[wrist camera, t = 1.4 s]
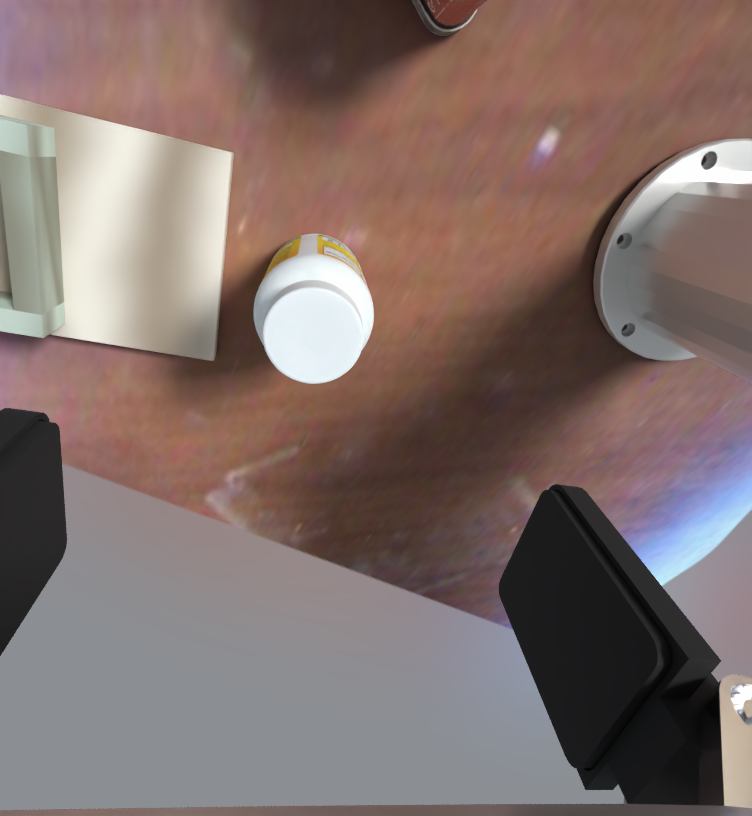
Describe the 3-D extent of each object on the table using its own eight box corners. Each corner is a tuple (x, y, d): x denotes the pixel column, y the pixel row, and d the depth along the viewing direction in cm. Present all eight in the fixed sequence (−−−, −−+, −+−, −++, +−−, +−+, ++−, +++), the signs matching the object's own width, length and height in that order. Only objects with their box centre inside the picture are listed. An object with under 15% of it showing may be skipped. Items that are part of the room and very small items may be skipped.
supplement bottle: (359, 229, 26) (381, 264, 18) (364, 324, 29) (385, 393, 20) (259, 235, 26) (233, 273, 17) (273, 330, 28) (256, 404, 20)
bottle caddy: (233, 152, 24) (223, 151, 21) (216, 356, 29) (205, 377, 26) (-205, 42, 20) (-290, 24, 17) (-143, 296, 25) (-201, 314, 22)
